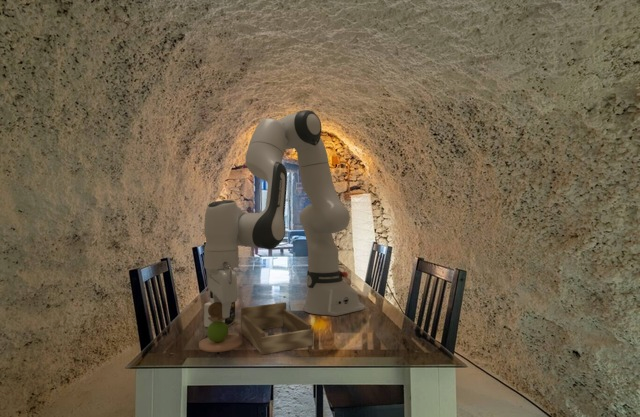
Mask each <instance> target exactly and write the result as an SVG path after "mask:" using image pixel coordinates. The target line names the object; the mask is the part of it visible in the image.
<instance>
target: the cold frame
mask: <svg viewBox="0 0 640 417" xmlns="http://www.w3.org/2000/svg"><path fill="white" fill-rule="evenodd" d="M281 327H284V328H285V329H286V330H288V331H289V332H285V333H279V334H274V335H273V334H271V335H266V332H265V331H264V330H265V329H266V330H268V329H273V328H281ZM240 333H241V334H243V336H244V337H246V339H248V341H249V342H250V343H251V344H252V345H253V347H254V348H255V349H256V350H257V351H258V352H259V353H260V354H261V355H262V356H263V355H268V354H273V353H280V352H284V351H290V350H294V349H299V348H306V347H311V346H314V329H313V326H312V324H311V323H309V322H308V321H305V319H303V318H301V317H299V316H298V315H296V314H294V313H293V312H291V311H289V310H288V309H287V302H279V303H278V302H277V303H268V304H262V305H261V304H260V305H251V306H245V307H240Z"/></svg>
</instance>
